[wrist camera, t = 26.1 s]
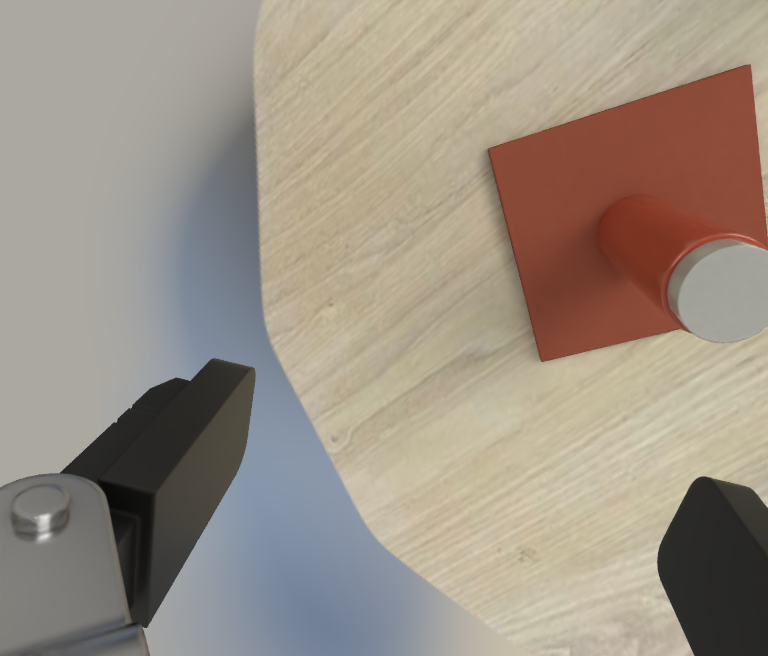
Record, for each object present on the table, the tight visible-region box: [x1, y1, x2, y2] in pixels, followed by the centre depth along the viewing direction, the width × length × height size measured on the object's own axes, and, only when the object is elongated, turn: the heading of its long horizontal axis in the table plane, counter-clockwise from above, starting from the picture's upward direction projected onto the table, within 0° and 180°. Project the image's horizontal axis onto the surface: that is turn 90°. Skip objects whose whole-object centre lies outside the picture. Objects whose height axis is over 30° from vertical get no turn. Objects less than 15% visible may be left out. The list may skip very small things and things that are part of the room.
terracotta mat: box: [488, 65, 768, 362], centre depth 33 cm, size 14×14×1 cm
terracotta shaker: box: [597, 194, 768, 343], centre depth 27 cm, size 4×4×12 cm
